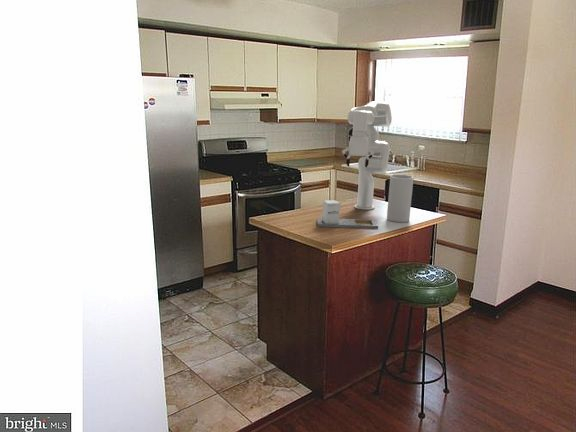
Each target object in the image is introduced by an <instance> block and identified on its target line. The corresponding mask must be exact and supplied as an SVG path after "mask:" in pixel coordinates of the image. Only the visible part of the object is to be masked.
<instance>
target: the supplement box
mask: <svg viewBox="0 0 576 432" xmlns="http://www.w3.org/2000/svg"><path fill="white" fill-rule="evenodd" d="M340 209H341V203H340V202H339V201H337V200H336V199H335V200H334V199H332V200H330V199H329V200H323V201H322V214H321V215H322V216H321V218H322V223H329V224H339V219H340Z"/></svg>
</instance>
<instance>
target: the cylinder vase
mask: <svg viewBox="0 0 576 432" xmlns="http://www.w3.org/2000/svg"><path fill="white" fill-rule="evenodd" d="M389 176H390V177H389V188H388V189H389V190H388V197H387V198H388V200H387V201H388V202H387V211H386V219H387V220H388V221H390V222H392V223H407V222H409V221H410V218H411V217H410V215H411V206H412V196H413V187H414V186H413V185H414V176H412V175H408V174H391V175H389Z"/></svg>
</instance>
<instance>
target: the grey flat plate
mask: <svg viewBox="0 0 576 432" xmlns="http://www.w3.org/2000/svg"><path fill="white" fill-rule="evenodd" d="M316 219H317V220H316V222H317V223H316V224H317V227H318V228H337V229H338V228H340V229H346V228H347V229H364V228H365V229H367V230H369V229H370V230H378V229H379V224H378V222H377V220H376V219H364V218H363V219H361V218H360V219H358V218H357V219H354V218H339V224H329V223H322V217H317V218H316Z"/></svg>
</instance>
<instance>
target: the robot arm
mask: <svg viewBox="0 0 576 432" xmlns="http://www.w3.org/2000/svg"><path fill="white" fill-rule="evenodd" d="M392 121H393V120H392V112H391V106H390V104H389V103H388V102H386V101H369V102H367V103H366V104H365V105H362V106H356V107H353V108H351V109H350V110H349V112H348V114H347V122H348V123H349V124H350V125H352V133H351V134H352V136H350V138H349V141H348V142H349V143H348V147H346V148H345V149H342V151H341V153H342V154H343V156H344V157H345V158H346V161H345V164H346V166H347V167H350V158H351V157H361V158H359V160H358V162H357V164H358V165H357V166H358V187H357V200H356V202H357V203H355V204H354V206H353V207H354V208H355V209H358V210H362V211H364V210H365V211H366V210H367V211H368V210H369V211H370V210H374V209H375V208H376V206H375V205H374V204H373V201H374V188H375V187H374V186H375V178H374V177H373V174H380V175H381V174H386V173H387V170H388V164H389V159H390V151H391V150H390V149H391V148H390V144H389V143H388V142H387V141H380V137H381V136H380V133H379V131H378V130H377V128H375V127H386V128H387V127H389V126H391V124H392ZM346 152H348V154H346Z"/></svg>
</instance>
